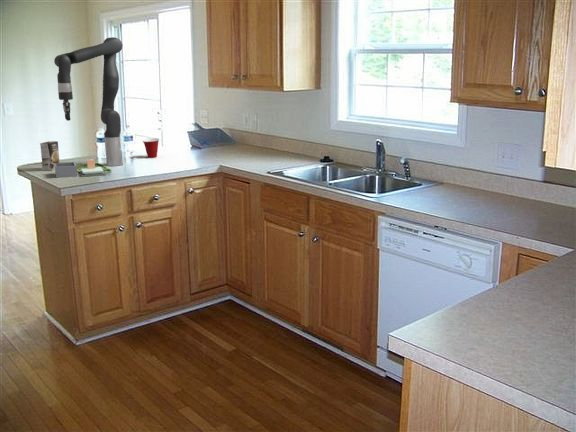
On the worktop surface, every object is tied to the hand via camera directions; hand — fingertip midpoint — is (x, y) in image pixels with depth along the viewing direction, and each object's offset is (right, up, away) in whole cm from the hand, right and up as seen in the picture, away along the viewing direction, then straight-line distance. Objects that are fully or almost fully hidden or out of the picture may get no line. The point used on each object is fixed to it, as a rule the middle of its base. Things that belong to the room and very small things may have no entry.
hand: (67, 119), depth 355 cm
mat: (+16, -31, -5) cm, 35 cm away
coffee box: (-13, -28, +9) cm, 32 cm away
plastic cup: (+38, -17, +48) cm, 63 cm away
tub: (+2, -32, -8) cm, 33 cm away
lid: (+16, -31, -4) cm, 35 cm away
